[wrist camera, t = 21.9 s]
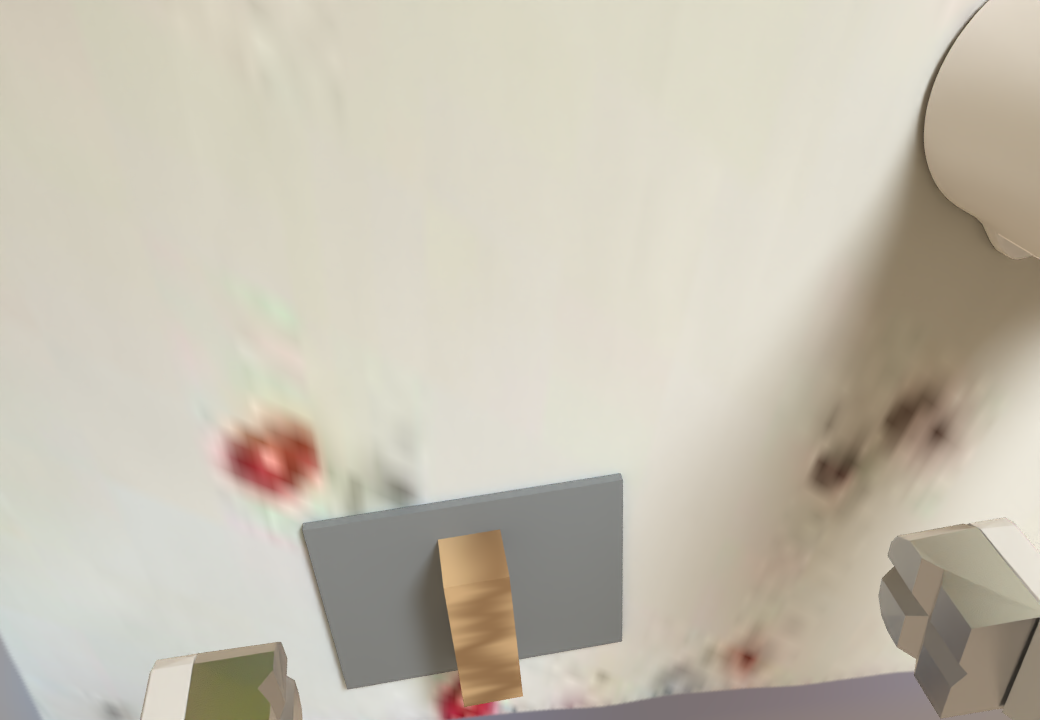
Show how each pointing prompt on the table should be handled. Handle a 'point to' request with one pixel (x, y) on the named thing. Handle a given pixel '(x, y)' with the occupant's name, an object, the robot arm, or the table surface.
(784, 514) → the table surface
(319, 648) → the table surface
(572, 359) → the table surface
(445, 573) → the oak post
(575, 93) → the table surface
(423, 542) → the slate mat
